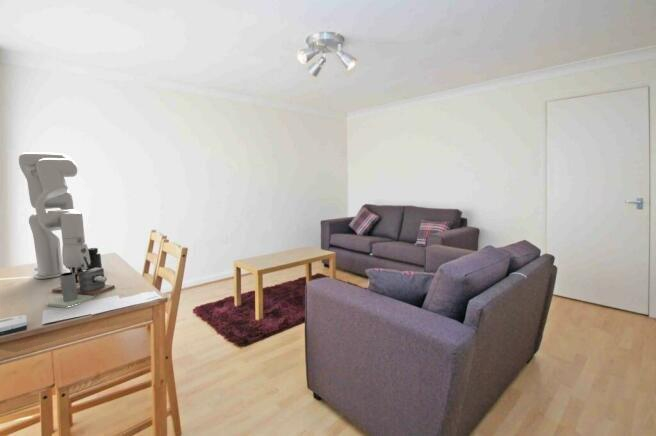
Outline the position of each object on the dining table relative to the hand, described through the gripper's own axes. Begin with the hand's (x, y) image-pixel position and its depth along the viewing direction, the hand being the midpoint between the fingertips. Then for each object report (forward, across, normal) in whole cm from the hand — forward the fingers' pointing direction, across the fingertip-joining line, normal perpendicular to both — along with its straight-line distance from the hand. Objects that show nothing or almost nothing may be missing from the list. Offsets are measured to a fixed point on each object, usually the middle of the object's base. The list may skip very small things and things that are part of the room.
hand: (78, 282), depth 142 cm
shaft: (0, -9, 0) cm, 9 cm away
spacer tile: (+3, -11, +12) cm, 17 cm away
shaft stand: (+3, -3, 0) cm, 4 cm away
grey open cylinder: (+2, -11, +12) cm, 16 cm away
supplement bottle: (+4, +18, -23) cm, 29 cm away
